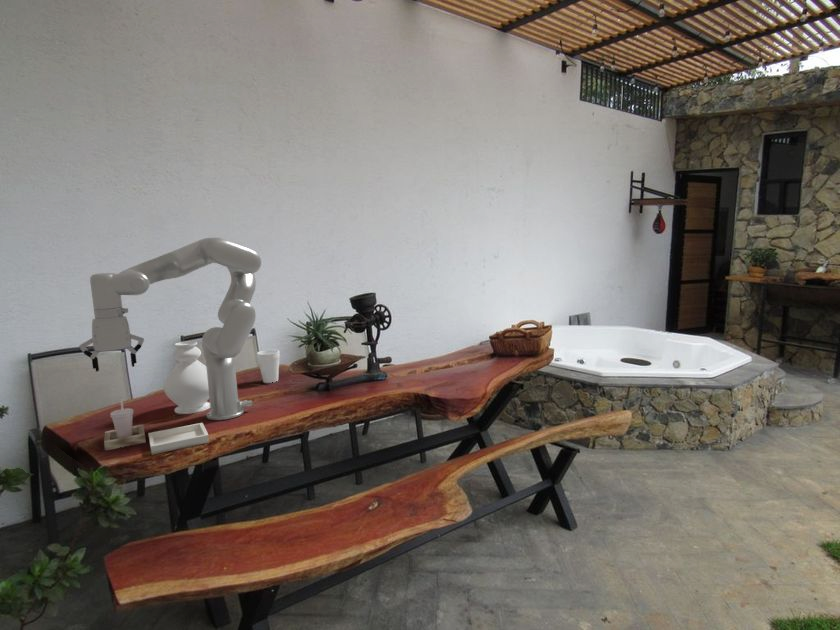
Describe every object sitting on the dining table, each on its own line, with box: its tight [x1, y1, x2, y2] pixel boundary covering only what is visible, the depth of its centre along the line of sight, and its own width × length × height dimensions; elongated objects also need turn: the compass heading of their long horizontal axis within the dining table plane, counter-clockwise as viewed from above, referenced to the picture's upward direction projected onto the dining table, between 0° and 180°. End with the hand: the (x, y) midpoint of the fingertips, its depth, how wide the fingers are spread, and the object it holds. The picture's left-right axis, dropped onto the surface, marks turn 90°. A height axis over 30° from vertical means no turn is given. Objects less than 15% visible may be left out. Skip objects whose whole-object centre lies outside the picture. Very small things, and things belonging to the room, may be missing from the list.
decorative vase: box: [163, 340, 210, 415], centre depth 194 cm, size 18×18×25 cm
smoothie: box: [110, 396, 135, 439], centre depth 165 cm, size 6×6×14 cm
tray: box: [147, 422, 210, 456], centre depth 164 cm, size 16×13×2 cm
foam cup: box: [256, 349, 281, 384], centre depth 229 cm, size 10×9×13 cm
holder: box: [103, 424, 147, 451], centre depth 166 cm, size 11×11×2 cm
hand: (115, 368), depth 163 cm, fingers open, 9 cm apart
